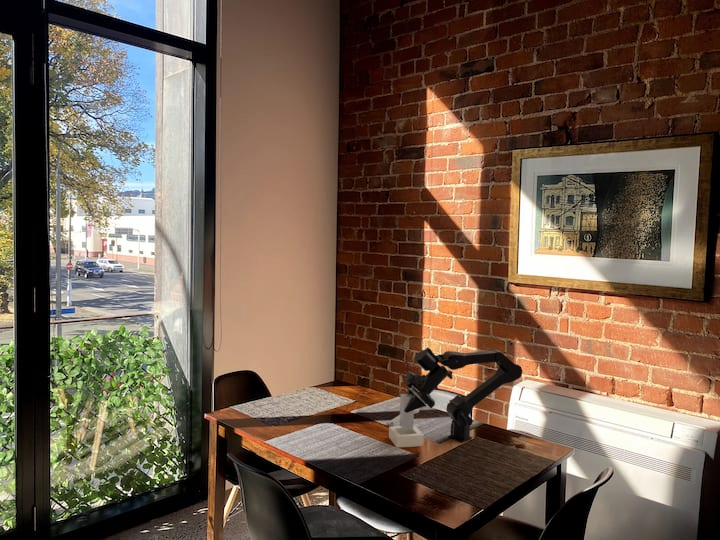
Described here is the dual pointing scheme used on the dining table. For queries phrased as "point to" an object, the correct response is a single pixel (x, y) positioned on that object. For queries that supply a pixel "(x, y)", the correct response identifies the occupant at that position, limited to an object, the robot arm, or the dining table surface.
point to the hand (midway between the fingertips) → (403, 410)
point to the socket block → (406, 437)
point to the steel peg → (405, 418)
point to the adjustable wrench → (398, 419)
